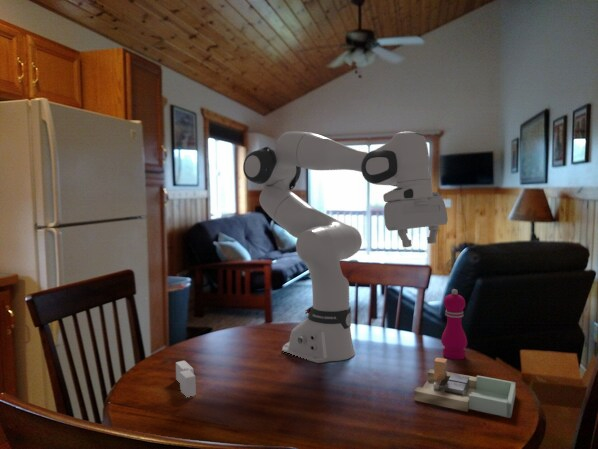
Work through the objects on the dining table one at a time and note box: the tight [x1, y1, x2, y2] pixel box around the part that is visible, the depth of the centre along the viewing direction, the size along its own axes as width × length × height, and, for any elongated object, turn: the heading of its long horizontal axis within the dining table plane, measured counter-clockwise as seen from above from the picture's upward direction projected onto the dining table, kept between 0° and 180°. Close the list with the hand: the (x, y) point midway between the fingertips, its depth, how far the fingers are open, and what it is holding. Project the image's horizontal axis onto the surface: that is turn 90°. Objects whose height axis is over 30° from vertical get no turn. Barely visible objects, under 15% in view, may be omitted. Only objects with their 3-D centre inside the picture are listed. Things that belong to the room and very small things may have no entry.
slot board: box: [413, 368, 477, 413], centre depth 103 cm, size 12×15×3 cm
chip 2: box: [444, 381, 466, 397], centre depth 100 cm, size 4×4×3 cm
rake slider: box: [433, 357, 448, 392], centre depth 103 cm, size 2×9×7 cm, turn 150°
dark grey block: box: [449, 373, 469, 395], centre depth 104 cm, size 4×4×3 cm
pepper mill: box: [441, 288, 468, 361], centre depth 128 cm, size 7×7×20 cm
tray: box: [468, 375, 517, 419], centre depth 98 cm, size 8×12×4 cm
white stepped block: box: [175, 360, 197, 399], centre depth 109 cm, size 15×11×6 cm
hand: (419, 245), depth 114 cm, fingers open, 8 cm apart
